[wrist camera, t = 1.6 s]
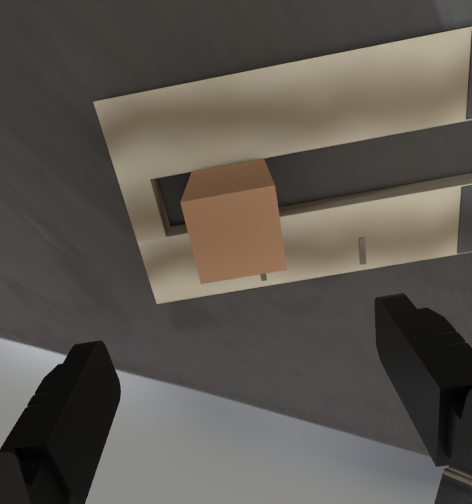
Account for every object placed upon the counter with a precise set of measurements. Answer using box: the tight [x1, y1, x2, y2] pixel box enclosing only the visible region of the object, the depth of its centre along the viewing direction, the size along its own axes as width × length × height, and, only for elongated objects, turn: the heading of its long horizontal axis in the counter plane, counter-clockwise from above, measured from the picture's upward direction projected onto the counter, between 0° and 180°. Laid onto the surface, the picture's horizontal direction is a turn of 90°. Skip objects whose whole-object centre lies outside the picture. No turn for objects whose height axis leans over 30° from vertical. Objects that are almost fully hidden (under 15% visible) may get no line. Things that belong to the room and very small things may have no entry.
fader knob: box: [180, 159, 287, 284], centre depth 23 cm, size 4×4×9 cm
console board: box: [94, 26, 472, 304], centre depth 25 cm, size 14×30×2 cm, turn 100°
